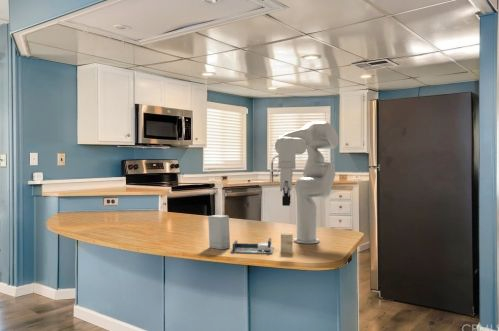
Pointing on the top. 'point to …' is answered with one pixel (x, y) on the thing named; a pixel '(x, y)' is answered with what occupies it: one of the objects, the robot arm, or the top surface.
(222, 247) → the skincare box
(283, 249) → the beech block
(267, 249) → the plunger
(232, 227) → the top surface
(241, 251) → the gauge base
